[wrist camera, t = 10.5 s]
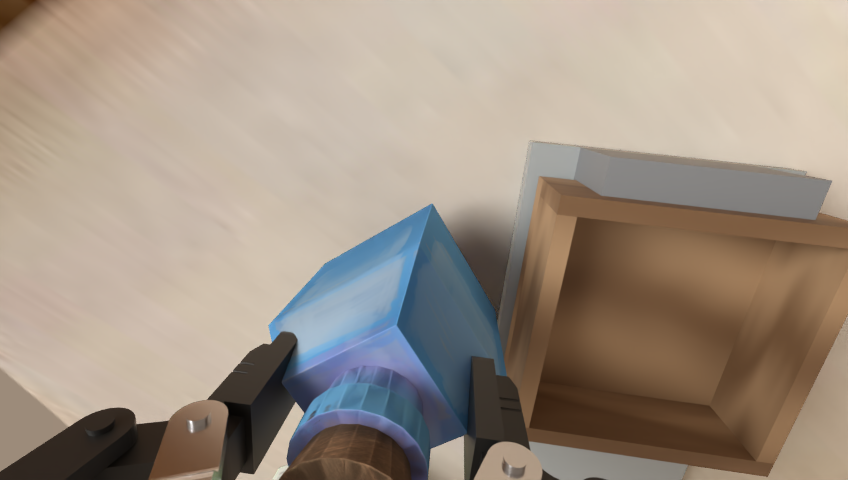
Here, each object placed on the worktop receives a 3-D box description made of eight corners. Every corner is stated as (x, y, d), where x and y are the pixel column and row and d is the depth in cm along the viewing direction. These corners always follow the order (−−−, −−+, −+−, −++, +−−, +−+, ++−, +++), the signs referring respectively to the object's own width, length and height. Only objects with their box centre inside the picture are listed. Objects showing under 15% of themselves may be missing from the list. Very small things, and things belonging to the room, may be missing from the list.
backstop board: (663, 491, 26) (708, 576, 21) (471, 462, 27) (474, 538, 22) (790, 168, 19) (896, 187, 14) (529, 140, 20) (550, 150, 15)
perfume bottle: (494, 309, 20) (542, 572, 8) (390, 359, 21) (309, 642, 10) (432, 203, 18) (387, 343, 7) (325, 263, 20) (142, 462, 8)
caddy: (708, 405, 22) (767, 476, 18) (500, 376, 23) (509, 438, 18) (789, 204, 18) (888, 232, 14) (539, 175, 19) (561, 194, 15)
